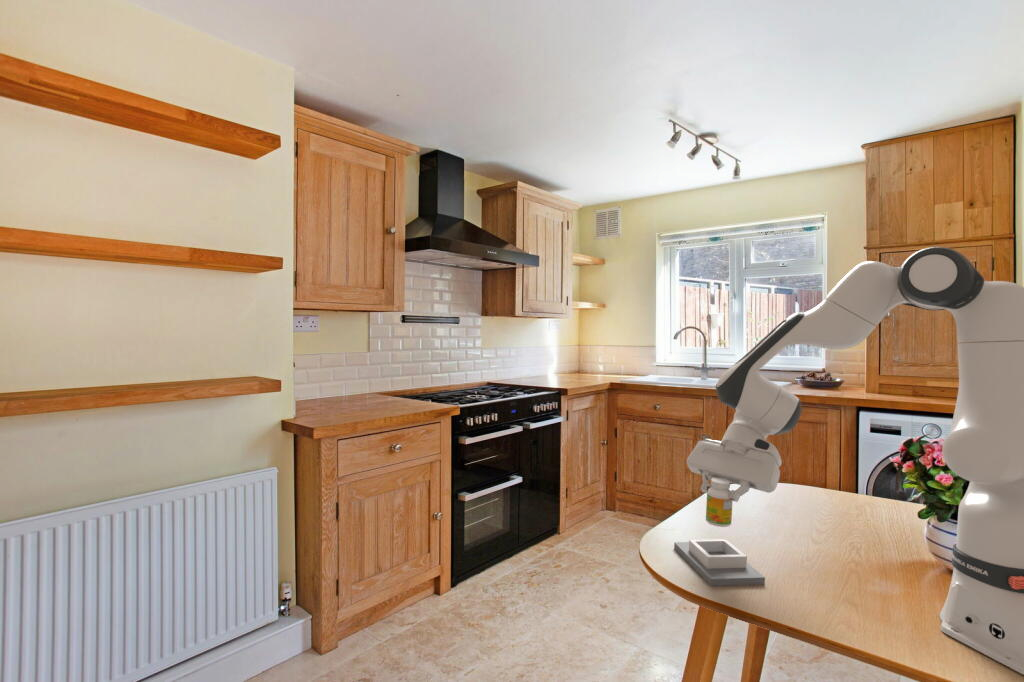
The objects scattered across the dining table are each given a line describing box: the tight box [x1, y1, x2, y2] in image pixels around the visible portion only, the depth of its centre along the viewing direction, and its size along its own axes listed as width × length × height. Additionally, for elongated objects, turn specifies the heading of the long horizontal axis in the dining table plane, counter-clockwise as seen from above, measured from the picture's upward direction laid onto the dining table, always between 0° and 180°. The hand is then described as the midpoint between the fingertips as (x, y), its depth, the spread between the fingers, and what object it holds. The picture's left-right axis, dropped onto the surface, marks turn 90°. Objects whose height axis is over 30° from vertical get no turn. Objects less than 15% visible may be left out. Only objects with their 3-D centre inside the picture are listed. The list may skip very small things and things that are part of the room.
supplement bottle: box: [705, 478, 733, 528], centre depth 120 cm, size 5×5×10 cm
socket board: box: [673, 538, 766, 587], centre depth 120 cm, size 18×12×4 cm, turn 7°
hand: (718, 495), depth 119 cm, fingers closed on supplement bottle, 5 cm apart
